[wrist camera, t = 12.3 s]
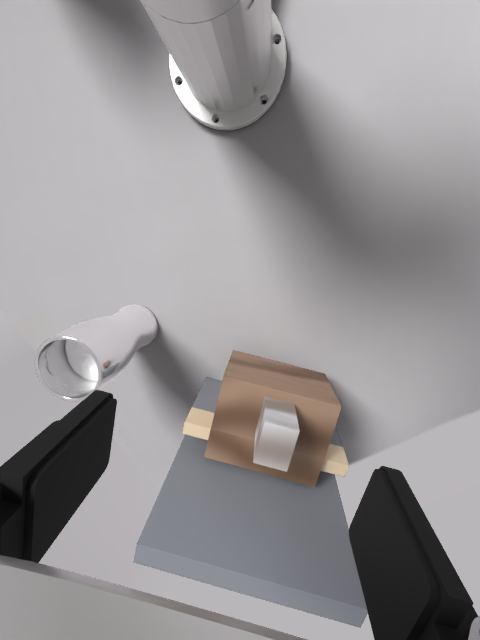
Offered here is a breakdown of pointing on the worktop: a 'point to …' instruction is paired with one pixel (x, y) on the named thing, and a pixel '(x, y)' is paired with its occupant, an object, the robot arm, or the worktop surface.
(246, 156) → the worktop surface
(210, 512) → the wall board
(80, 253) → the worktop surface
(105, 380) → the beer glass
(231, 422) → the walnut cabinet
